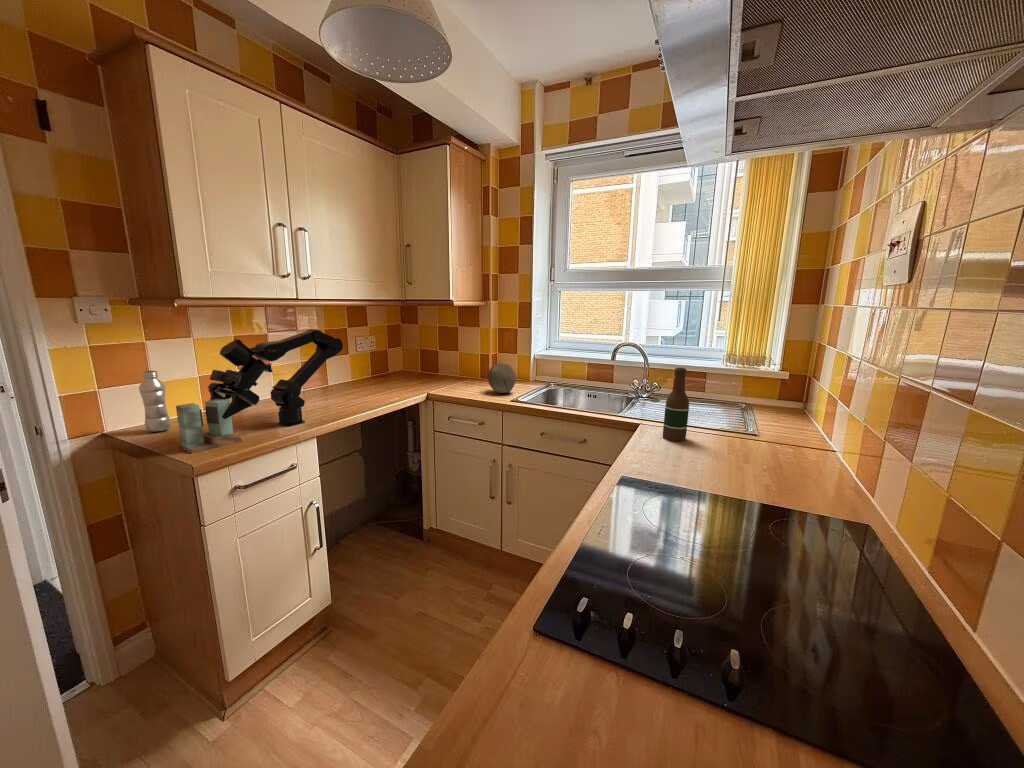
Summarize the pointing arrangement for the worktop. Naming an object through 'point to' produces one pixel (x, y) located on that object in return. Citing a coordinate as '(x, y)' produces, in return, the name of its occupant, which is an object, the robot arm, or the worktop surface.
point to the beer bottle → (676, 410)
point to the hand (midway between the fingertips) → (214, 416)
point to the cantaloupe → (501, 378)
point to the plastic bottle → (154, 402)
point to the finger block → (218, 417)
